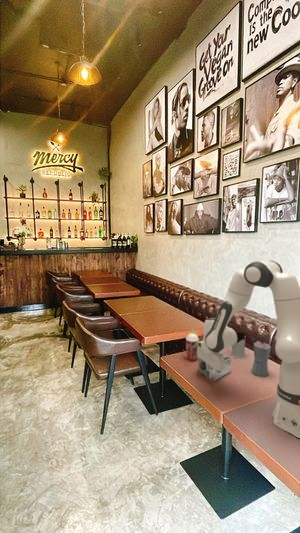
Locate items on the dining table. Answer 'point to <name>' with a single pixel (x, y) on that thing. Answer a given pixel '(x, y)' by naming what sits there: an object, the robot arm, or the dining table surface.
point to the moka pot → (261, 358)
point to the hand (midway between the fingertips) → (209, 371)
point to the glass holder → (239, 346)
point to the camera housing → (202, 365)
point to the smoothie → (191, 346)
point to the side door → (218, 374)
